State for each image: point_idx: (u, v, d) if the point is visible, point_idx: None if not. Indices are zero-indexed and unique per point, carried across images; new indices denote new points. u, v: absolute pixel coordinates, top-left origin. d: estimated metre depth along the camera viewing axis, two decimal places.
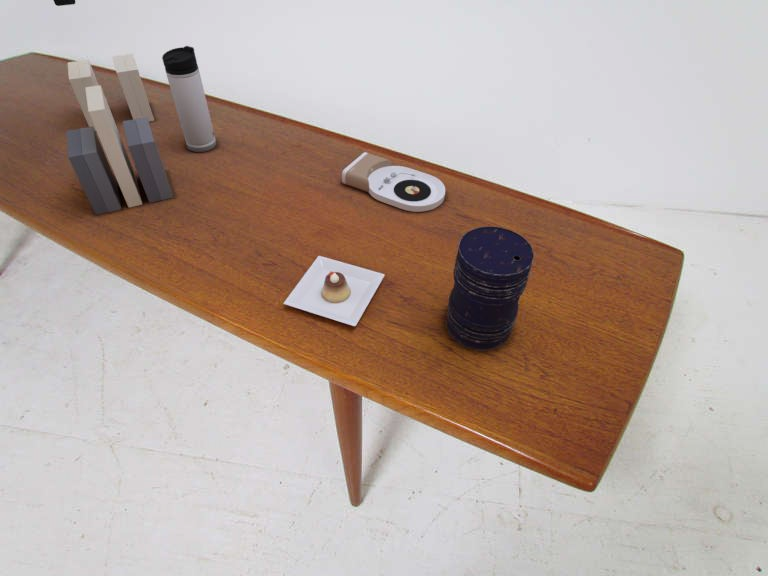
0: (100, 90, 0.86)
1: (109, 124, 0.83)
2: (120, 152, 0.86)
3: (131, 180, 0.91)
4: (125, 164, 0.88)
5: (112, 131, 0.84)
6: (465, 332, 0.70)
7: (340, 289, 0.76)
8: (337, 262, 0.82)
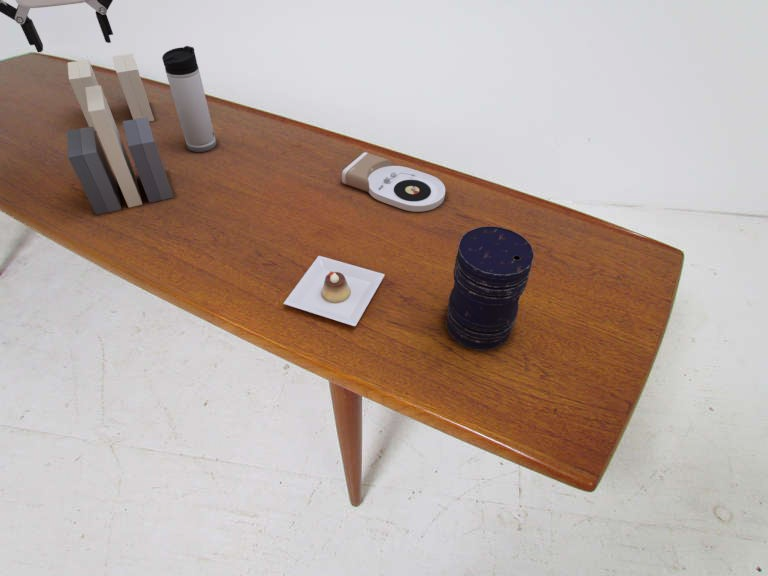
0: (100, 90, 0.86)
1: (109, 124, 0.83)
2: (120, 152, 0.86)
3: (131, 180, 0.91)
4: (125, 164, 0.88)
5: (112, 131, 0.84)
6: (465, 332, 0.70)
7: (340, 289, 0.76)
8: (337, 262, 0.82)
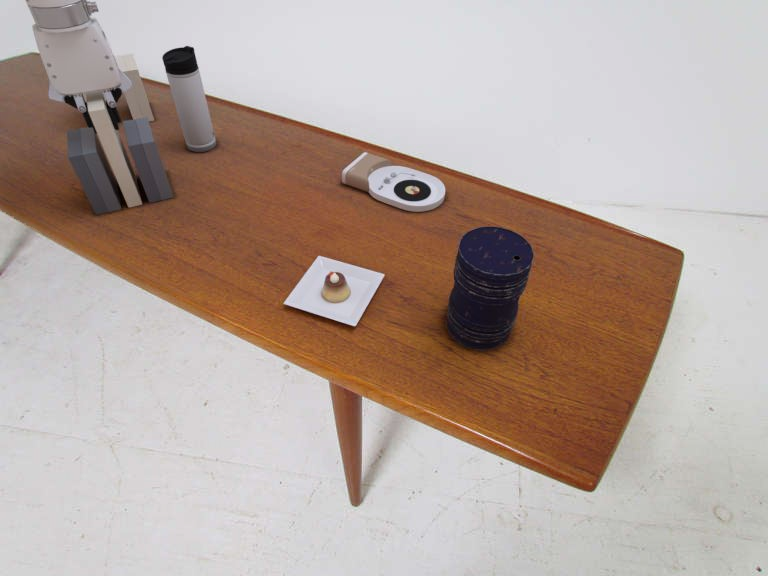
0: (100, 90, 0.86)
1: (109, 124, 0.83)
2: (120, 152, 0.86)
3: (131, 180, 0.91)
4: (125, 164, 0.88)
5: (112, 131, 0.84)
6: (465, 332, 0.70)
7: (340, 289, 0.76)
8: (337, 262, 0.82)
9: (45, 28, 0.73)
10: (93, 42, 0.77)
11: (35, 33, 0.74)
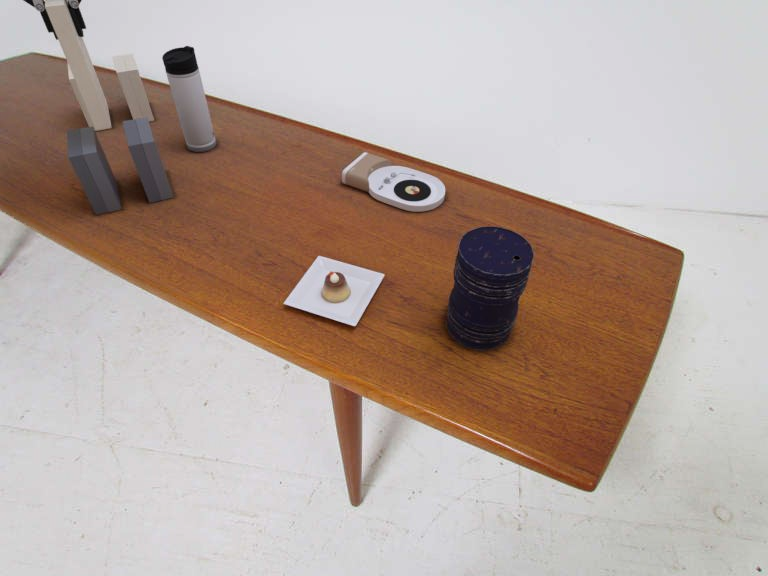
0: None
1: (70, 25, 0.73)
2: (84, 61, 0.77)
3: (98, 97, 0.81)
4: (90, 76, 0.79)
5: (74, 34, 0.74)
6: (465, 332, 0.70)
7: (340, 289, 0.76)
8: (337, 262, 0.82)
9: None
10: None
11: None
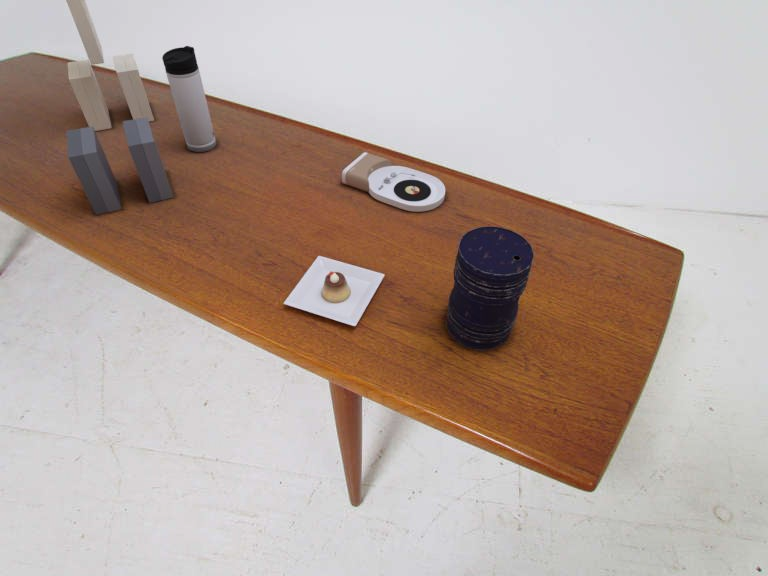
0: None
1: None
2: (80, 3, 0.95)
3: (92, 35, 0.99)
4: (86, 17, 0.96)
5: None
6: (465, 332, 0.70)
7: (340, 289, 0.76)
8: (337, 262, 0.82)
9: None
10: None
11: None
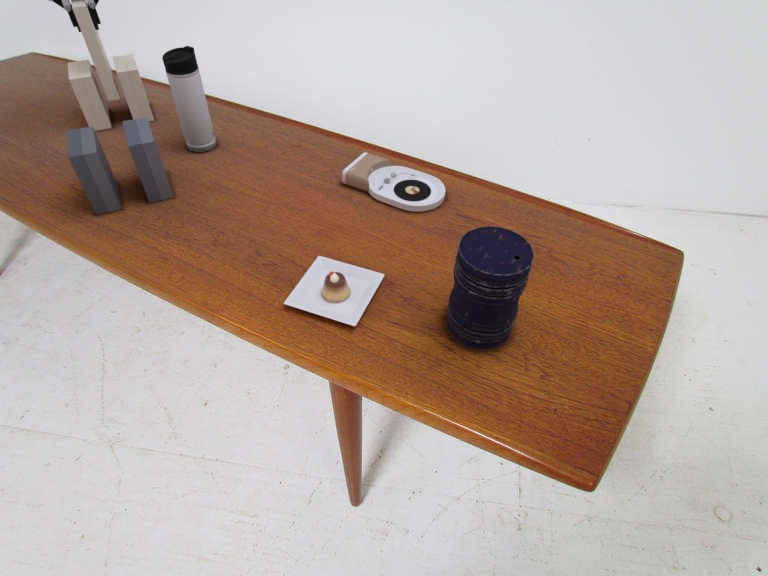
0: None
1: (90, 20, 1.00)
2: (99, 47, 1.04)
3: (110, 75, 1.08)
4: (104, 59, 1.06)
5: (92, 27, 1.01)
6: (465, 332, 0.70)
7: (340, 289, 0.76)
8: (337, 262, 0.82)
9: None
10: None
11: None
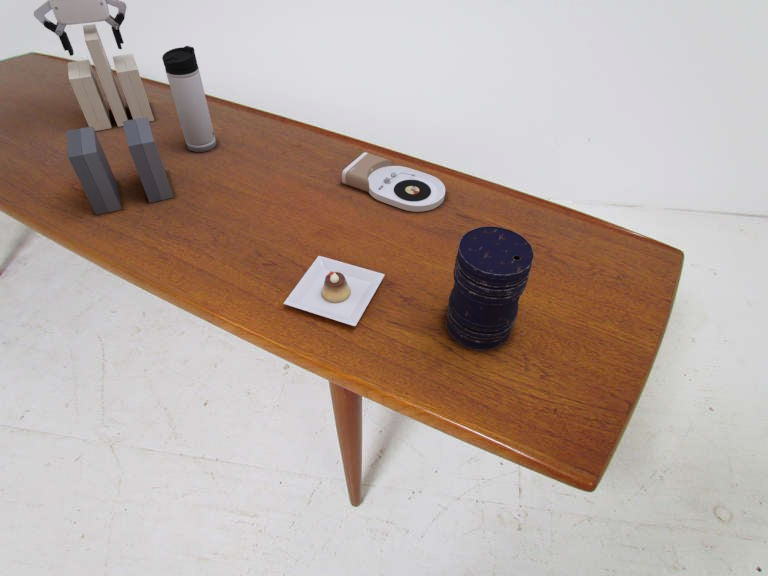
0: (94, 27, 1.08)
1: (101, 52, 1.05)
2: (110, 77, 1.08)
3: (120, 102, 1.12)
4: (114, 88, 1.10)
5: (104, 58, 1.06)
6: (465, 332, 0.70)
7: (340, 289, 0.76)
8: (337, 262, 0.82)
9: None
10: None
11: None
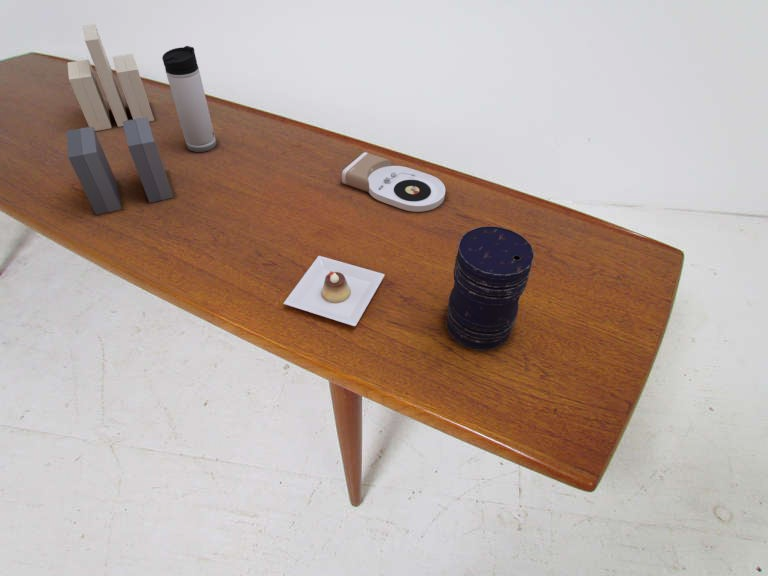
0: (94, 27, 1.08)
1: (101, 52, 1.05)
2: (110, 77, 1.08)
3: (120, 102, 1.12)
4: (115, 88, 1.10)
5: (104, 58, 1.06)
6: (465, 332, 0.70)
7: (340, 289, 0.76)
8: (337, 262, 0.82)
9: None
10: None
11: None
